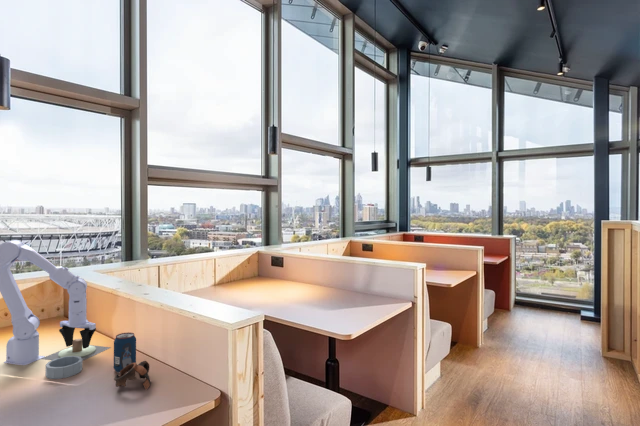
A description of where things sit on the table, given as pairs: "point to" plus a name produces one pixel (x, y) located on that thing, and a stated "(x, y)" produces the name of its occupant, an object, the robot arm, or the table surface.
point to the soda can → (124, 350)
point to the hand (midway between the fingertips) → (77, 346)
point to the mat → (98, 350)
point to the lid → (77, 350)
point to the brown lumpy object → (130, 375)
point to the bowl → (63, 367)
